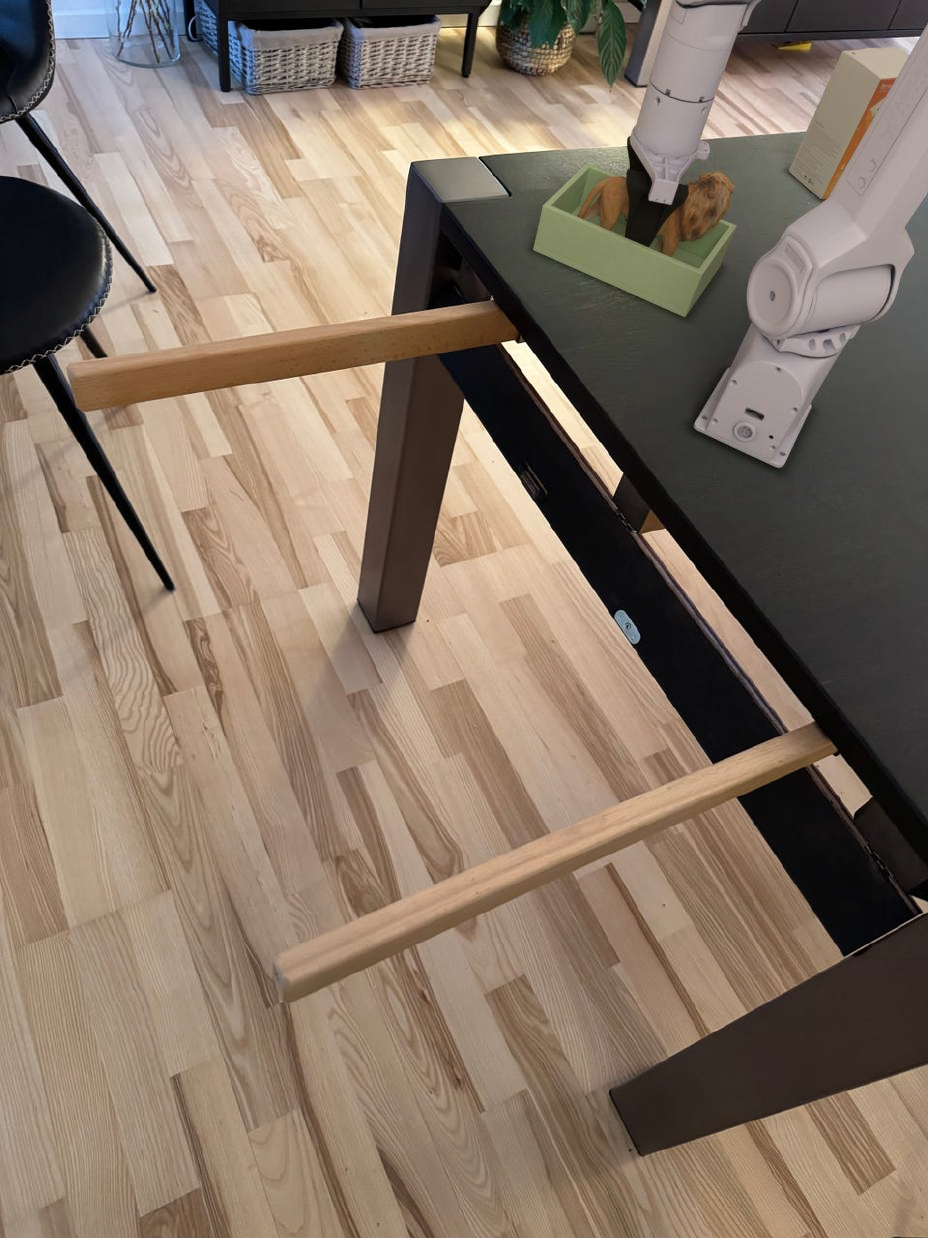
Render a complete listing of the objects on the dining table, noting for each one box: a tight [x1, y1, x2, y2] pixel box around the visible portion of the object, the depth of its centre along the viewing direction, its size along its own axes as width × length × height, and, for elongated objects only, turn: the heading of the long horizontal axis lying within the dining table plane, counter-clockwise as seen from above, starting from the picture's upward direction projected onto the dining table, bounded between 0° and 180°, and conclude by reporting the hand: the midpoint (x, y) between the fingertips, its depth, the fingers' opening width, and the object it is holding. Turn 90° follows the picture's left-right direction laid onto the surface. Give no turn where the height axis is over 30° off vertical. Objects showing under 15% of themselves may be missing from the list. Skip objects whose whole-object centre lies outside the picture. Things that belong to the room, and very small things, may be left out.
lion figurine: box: [577, 171, 736, 257], centre depth 84 cm, size 15×5×9 cm, turn 85°
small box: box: [788, 46, 910, 200], centre depth 98 cm, size 8×6×13 cm
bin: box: [532, 162, 737, 318], centre depth 86 cm, size 10×16×5 cm, turn 61°
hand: (634, 234), depth 86 cm, fingers closed on lion figurine, 4 cm apart
